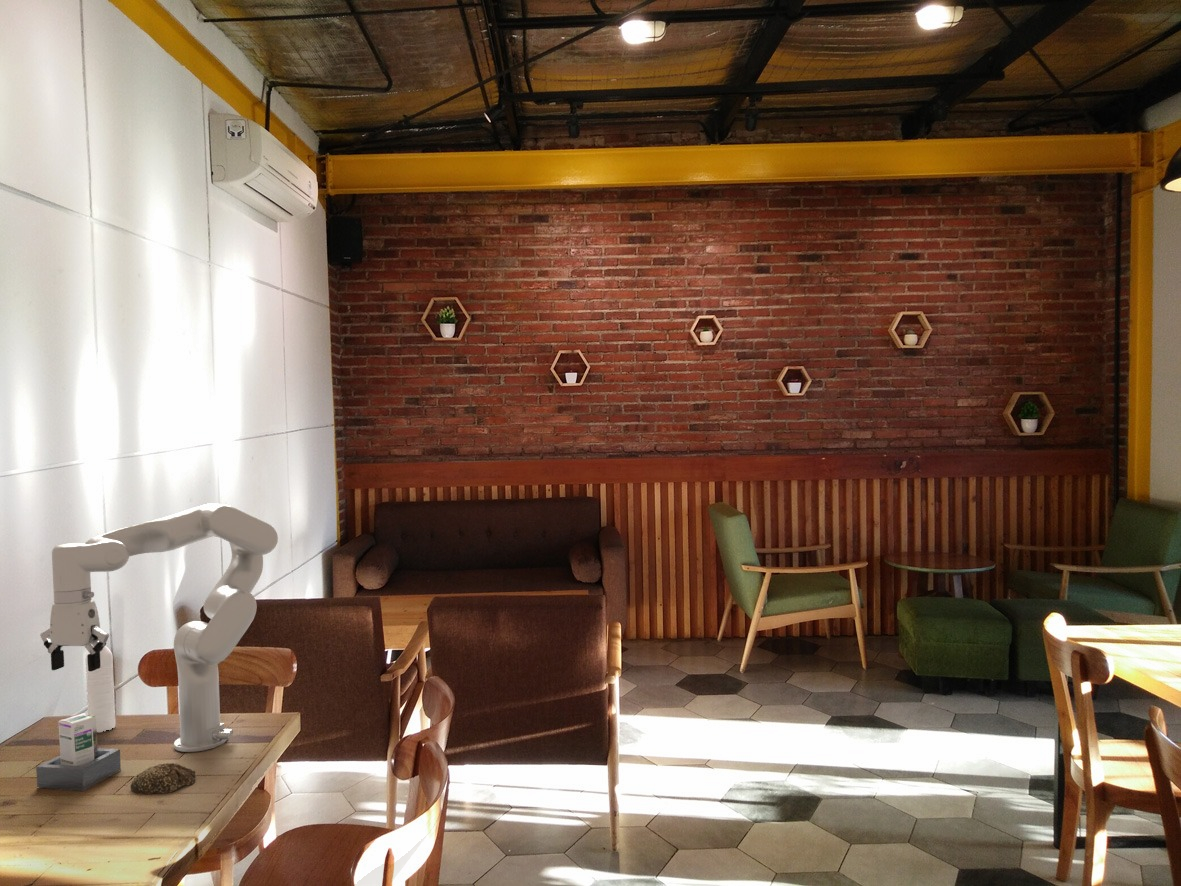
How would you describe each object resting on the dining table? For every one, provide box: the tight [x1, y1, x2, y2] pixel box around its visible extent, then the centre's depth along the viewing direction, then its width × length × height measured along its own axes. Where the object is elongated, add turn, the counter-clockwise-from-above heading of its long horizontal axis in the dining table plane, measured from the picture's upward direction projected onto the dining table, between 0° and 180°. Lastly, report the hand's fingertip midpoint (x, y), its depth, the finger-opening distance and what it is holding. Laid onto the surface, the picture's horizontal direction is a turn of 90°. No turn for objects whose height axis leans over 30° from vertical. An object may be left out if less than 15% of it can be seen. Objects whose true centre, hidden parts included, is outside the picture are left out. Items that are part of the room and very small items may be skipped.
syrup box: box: [58, 712, 99, 766], centre depth 204 cm, size 6×6×14 cm
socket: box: [35, 747, 122, 792], centre depth 204 cm, size 12×12×5 cm
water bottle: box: [85, 641, 116, 733], centre depth 236 cm, size 9×6×25 cm
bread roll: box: [130, 762, 196, 795], centre depth 200 cm, size 13×12×5 cm
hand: (76, 669), depth 203 cm, fingers open, 9 cm apart
